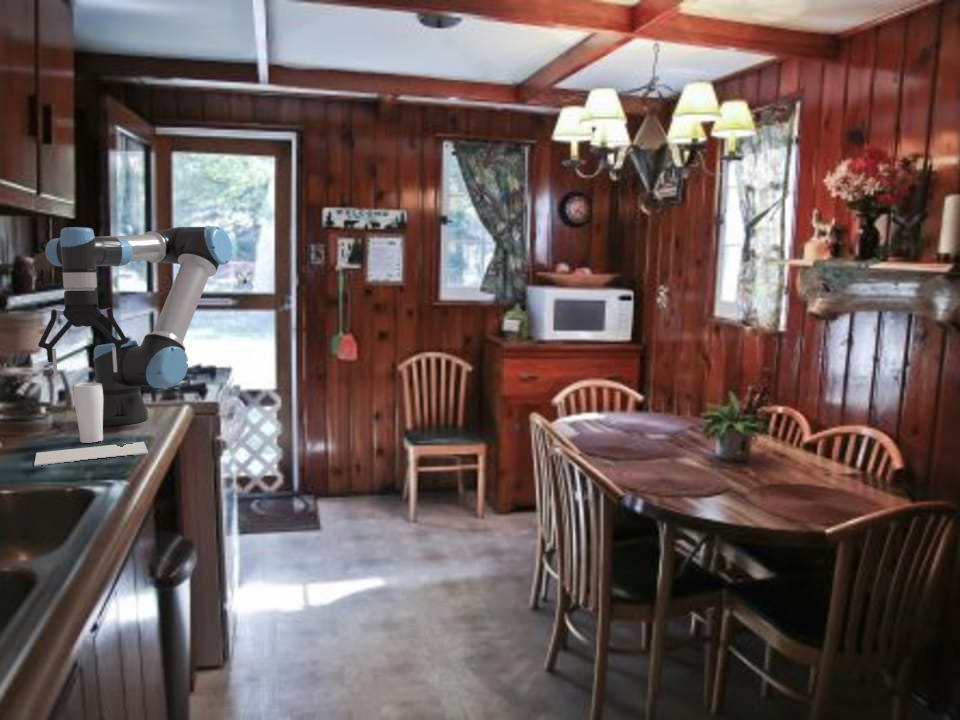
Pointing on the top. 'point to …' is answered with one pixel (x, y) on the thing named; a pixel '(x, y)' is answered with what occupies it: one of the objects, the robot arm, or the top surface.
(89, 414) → the white cup
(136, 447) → the rubber mat
